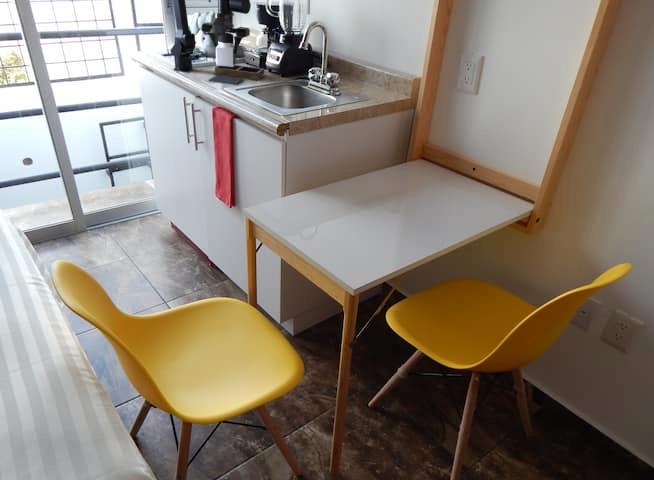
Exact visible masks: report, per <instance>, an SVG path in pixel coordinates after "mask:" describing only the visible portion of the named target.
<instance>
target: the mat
mask: <svg viewBox="0 0 654 480" xmlns="http://www.w3.org/2000/svg"><path fill="white" fill-rule="evenodd" d="M208 81H209V82H216V83H222V84H229V85H238V84H240V83H241V82H243V81H244V79H241V78H234V77H227V76H220V75H215V76H213V77H211V78H210V79H208Z"/></svg>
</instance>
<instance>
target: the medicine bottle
mask: <svg viewBox="0 0 654 480" xmlns="http://www.w3.org/2000/svg"><path fill="white" fill-rule="evenodd" d="M218 41H219V45H218V46H217V47H216V57H215V62H216V63H215V64H216V67H217V66H228V67H234V65H237V57H236V54H234V33H228V32H226V33H224V34H221V33H219V34H218Z"/></svg>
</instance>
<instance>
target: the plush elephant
mask: <svg viewBox="0 0 654 480" xmlns="http://www.w3.org/2000/svg"><path fill="white" fill-rule="evenodd" d="M216 16H217V13H216V12H215V11H214V10H211V11H205V12H203V13H202V14H201V13H200V11H196V12H194V13H193V14H192V17H191V19H190V24H189V30H190V32H191V33H192V34H193V33H194V34H195V36H197V34H198V33H200V31H201V32H202V30H201V26H202V24H204V23H207V22H208V23H213V22H214V21H215V20H216V18H217V17H216ZM206 33H207V32H202V34H201V36H200V42H201V44H202V49H200V48H201V46H199V47H197V45H196V44H195V48H194V52H200V53H201V54H200V55H199V57H201V56H203V57H204V56H205V57H210V58H211V57H212V58H216V49H215V47H214V44H213V41H212V39H211V37H210V36H209V35H208V34H206ZM218 34H219V33H218ZM218 45H219V41H218ZM245 50H246V51H247V48H246V47H245V46H244V45H240V44H239V47H238V50H237V52H236V58H238V57H239V58H242V57H244V56H245V55H244V52H245Z"/></svg>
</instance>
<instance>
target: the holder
mask: <svg viewBox="0 0 654 480" xmlns="http://www.w3.org/2000/svg"><path fill="white" fill-rule="evenodd" d="M214 75H215V76H217V75H218V76H225V77H232V78H239V79H243V80H248V81H249V80H250V81H259V80H261V79H262V78H263V77H265V68H261V67H253V66H248V65H247V66H246V65H239V64H235V65H234V67H228V66H217V65H216V66H215V67H214Z"/></svg>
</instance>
